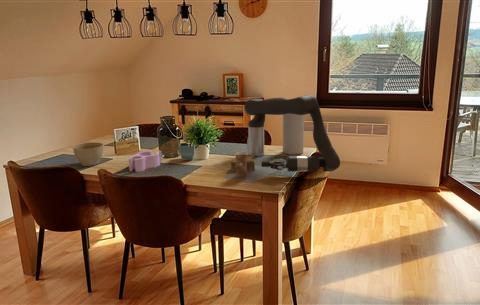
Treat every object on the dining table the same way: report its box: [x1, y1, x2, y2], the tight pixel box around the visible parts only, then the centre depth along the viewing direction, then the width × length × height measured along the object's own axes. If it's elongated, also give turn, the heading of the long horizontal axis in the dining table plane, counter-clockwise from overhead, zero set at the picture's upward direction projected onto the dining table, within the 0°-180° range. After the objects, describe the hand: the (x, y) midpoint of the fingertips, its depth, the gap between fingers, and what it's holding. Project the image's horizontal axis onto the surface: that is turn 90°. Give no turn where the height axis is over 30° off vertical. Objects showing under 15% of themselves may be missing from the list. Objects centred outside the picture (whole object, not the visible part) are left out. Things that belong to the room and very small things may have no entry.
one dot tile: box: [235, 151, 248, 179], centre depth 191 cm, size 5×5×12 cm
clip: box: [128, 149, 163, 173], centre depth 216 cm, size 20×12×7 cm, turn 154°
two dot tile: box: [230, 158, 256, 172], centre depth 204 cm, size 5×5×12 cm
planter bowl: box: [72, 141, 104, 167], centre depth 223 cm, size 16×16×11 cm
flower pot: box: [178, 142, 196, 161], centre depth 229 cm, size 9×9×9 cm
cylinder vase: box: [282, 114, 305, 156], centre depth 237 cm, size 12×12×25 cm
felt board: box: [223, 165, 279, 184], centre depth 198 cm, size 17×25×1 cm
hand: (261, 164), depth 191 cm, fingers closed
